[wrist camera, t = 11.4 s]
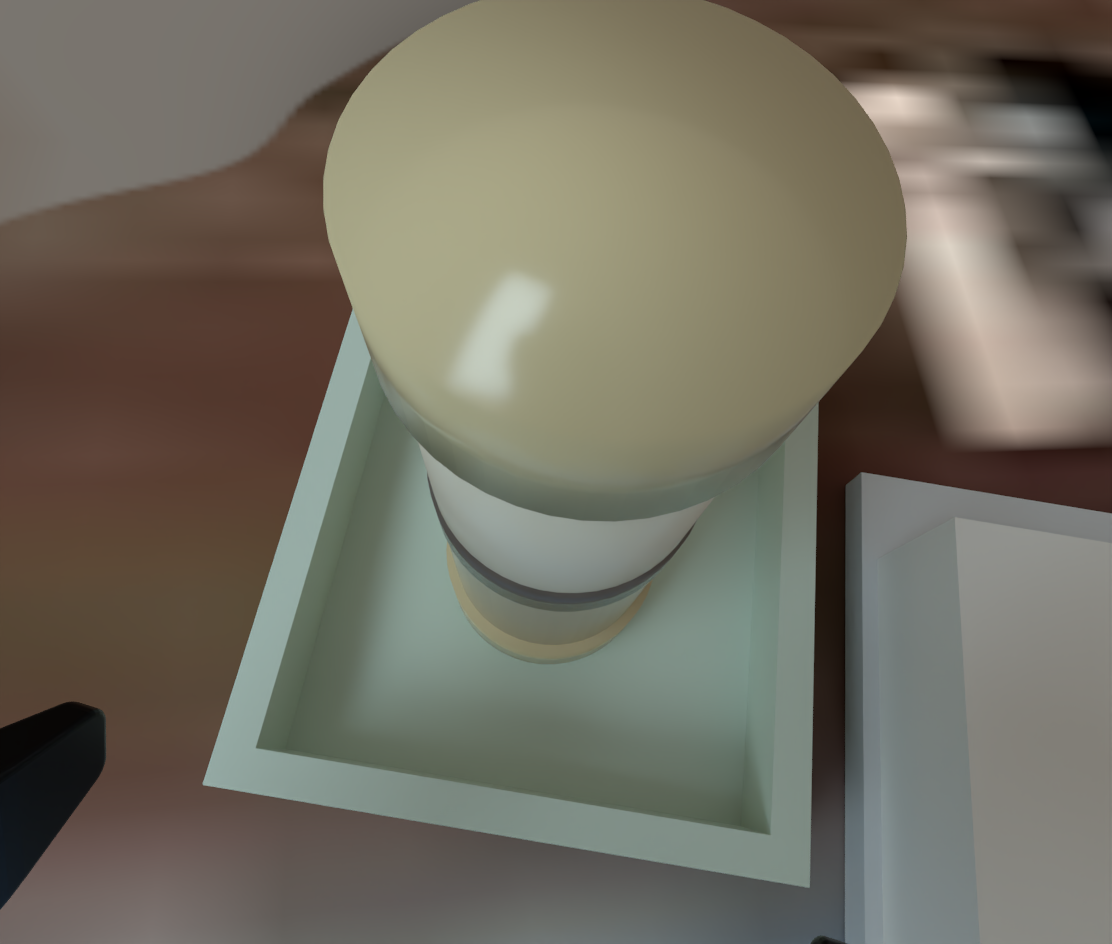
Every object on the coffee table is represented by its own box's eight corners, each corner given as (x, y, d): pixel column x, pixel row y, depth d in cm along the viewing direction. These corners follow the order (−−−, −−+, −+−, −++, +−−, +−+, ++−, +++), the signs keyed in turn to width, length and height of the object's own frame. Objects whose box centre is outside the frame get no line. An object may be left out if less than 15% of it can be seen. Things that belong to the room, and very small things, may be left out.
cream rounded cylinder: (670, 629, 18) (1018, 349, 5) (482, 691, 17) (402, 525, 5) (605, 457, 19) (762, -51, 7) (431, 506, 18) (273, 29, 6)
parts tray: (760, 865, 17) (809, 887, 14) (254, 779, 17) (202, 785, 14) (779, 411, 21) (819, 359, 18) (380, 346, 21) (360, 284, 18)
